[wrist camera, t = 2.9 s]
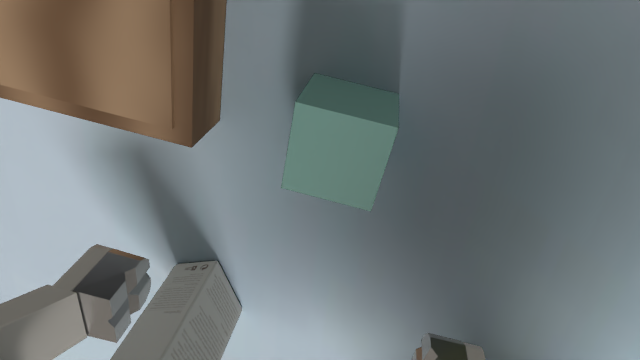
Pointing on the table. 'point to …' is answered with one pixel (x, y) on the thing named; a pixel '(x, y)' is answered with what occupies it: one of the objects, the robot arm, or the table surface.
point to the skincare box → (185, 317)
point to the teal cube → (340, 141)
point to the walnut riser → (118, 62)
